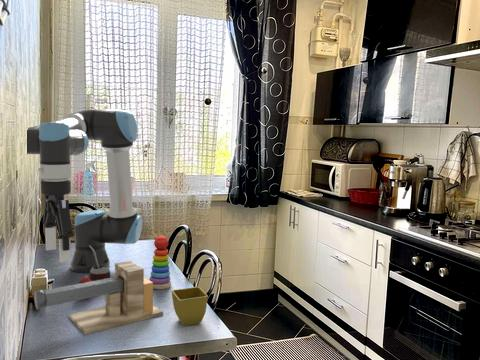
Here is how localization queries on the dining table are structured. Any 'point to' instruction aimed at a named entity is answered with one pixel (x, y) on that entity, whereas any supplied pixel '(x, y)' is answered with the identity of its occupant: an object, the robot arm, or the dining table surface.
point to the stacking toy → (160, 265)
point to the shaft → (77, 292)
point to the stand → (118, 303)
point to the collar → (148, 295)
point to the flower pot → (189, 305)
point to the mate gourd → (98, 270)
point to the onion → (85, 280)
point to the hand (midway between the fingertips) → (57, 255)
